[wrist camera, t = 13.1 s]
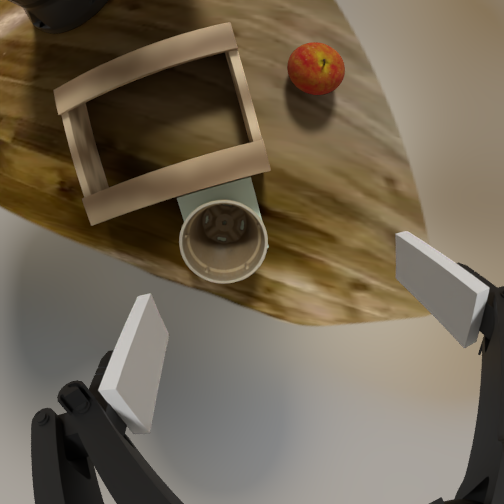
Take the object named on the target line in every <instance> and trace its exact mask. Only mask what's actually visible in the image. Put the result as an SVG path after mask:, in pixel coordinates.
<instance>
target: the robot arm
mask: <svg viewBox="0 0 504 504" xmlns="http://www.w3.org/2000/svg"><path fill="white" fill-rule="evenodd" d="M8 1H11V2H13V3H15V4H17V5H19V6H21V7H23V9H24V10H25V12H26V14H27V16H28V17H29V19H30V21H31V22H32V24H33V25H34V26H35V27H37V28H38V29H40V30H42V31H44V32H47V33H53V34H55V33H62V32H66V31H69V30H71V29H74V28H76V27H78V26H79V25H81V24H83V23H84V22H86V21H87V20H89V19H90V18H91V17H93V16H94V15H95V14H96V13H97V12H98V11H99V10H100V9H101V8H102V7H103V6H104V5H105V4H106V3H107V1H108V0H8ZM396 279H397V280H398V281H399V282H400V283H401V284H402V285H403V286H404V287H405V288H406V289H407V290H408V291H409V292H410V293H411V294H412V295H413V296H414V297H415V298H416V299H417V300H418V301H419V302H420V303H421V304H422V305H423V306H424V307H425V308H426V309H427V310H428V311H429V312H430V313H431V314H432V315H433V316H434V317H435V318H436V319H437V320H438V321H439V322H440V323H441V324H442V325H443V326H444V327H445V328H446V329H447V330H448V331H449V332H450V334H451V335H453V337H454V338H455V339H456V340H457V341H458V342H459V343H460V344H461V346H462V347H463V348H466V347H468V346H469V345H471V344H473V343H475V342H476V341H477V337H478V334H479V331H480V332H482V333H483V334H484V337H483V341H482V344H481V347H480V350H479V353H478V354H479V355H480V354H481V351H482V371H481V386H480V397H479V406H478V414H477V421H476V428H475V434H474V439H473V445H472V450H471V454H470V458H469V463H468V467H467V471H466V475H465V477H464V480H463V482H462V484H461V486H460V488H459V490H458V491H457V494H456V496H455V499H454V500H449V501H445V502H443V499H442V498H439V499H437V500H435V501H433V502H432V503H429V504H504V286H503V287H499V288H497V287H495V286H494V285H493V284H492V283H490V282H489V281H488V280H486V279H485V278H483V277H482V276H480V275H479V274H478V273H477V272H474V270H472V269H471V268H469V267H468V266H466V265H463V264H460V263H455V262H454V261H452V260H451V259H449V258H447V257H446V256H445V255H443V254H442V253H440V252H439V251H437V250H436V249H434V248H433V247H431V246H430V245H428V244H427V243H425V242H424V241H422V240H421V239H419V238H418V237H416V236H414V235H413V234H411V233H410V232H408V231H404V232H401V233H397V234H396ZM168 339H169V333H168V331H167V329H166V327H165V324H164V322H163V320H162V318H161V316H160V313H159V311H158V309H157V307H156V304H155V302H154V299H153V297H152V295H151V293H150V294H145V295H141V296H138V297H137V299H136V301H135V303H134V305H133V308H132V310H131V312H130V314H129V317H128V319H127V321H126V323H125V326H124V328H123V330H122V332H121V335H120V337H119V339H118V342H117V344H116V346H115V349H114V350H113V351H108V352H107V353H106V354H105V356H104V357H103V358H102V359H101V361H100V364H99V366H98V369H97V371H96V373H95V374H96V375H95V376H94V378H93V380H92V383H91V385H90V388H89V389H88V388H87V387H86V386H85V384H84V383H83V382H82V381H72V382H70V383H68V384H66V385H65V386H64V387H63V388H62V389H61V390H60V392H59V394H58V397H57V398H58V402H59V403H60V404H61V405H62V407H64V409H65V410H66V411H67V413H64V414H61V415H57V414H56V413H55V412H54V411H53V410H52V409H50V408H45V409H42V410H40V411H38V412H37V413H36V414H35V416H34V418H33V419H32V425H31V457H32V477H33V488H34V499H35V504H104V502H103V499H102V495H101V492H100V488H99V485H98V481H97V477H96V473H95V469H94V466H95V468H96V470H97V472H98V474H99V475H100V477H101V479H102V481H103V482H104V484H105V486H106V487H107V489H108V491H109V492H110V494H111V495H112V497H113V498H114V500H115V501H116V503H117V504H184V503H182V502H181V500H180V499H179V498H178V497H177V496H176V495H175V494H174V493H173V492H172V491H171V490H170V489H169V487H168V486H167V485H166V484H165V483H164V482H163V481H162V479H161V478H160V477H159V476H158V475H157V474H156V472H155V471H154V470H153V469H152V468H151V466H150V465H149V464H148V463H147V461H146V460H145V459H144V458H143V456H142V455H141V454H140V452H139V451H138V450H137V449H136V447H135V446H134V444H133V443H132V442H131V440H130V439H129V437H127V435H126V434H125V431H126V427H128V428H129V429H130V430H131V431H132V433H133V434H147V433H150V431H151V425H152V419H153V414H154V408H155V402H156V397H157V392H158V386H159V382H160V376H161V371H162V367H163V361H164V357H165V352H166V348H167V343H168Z"/></svg>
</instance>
